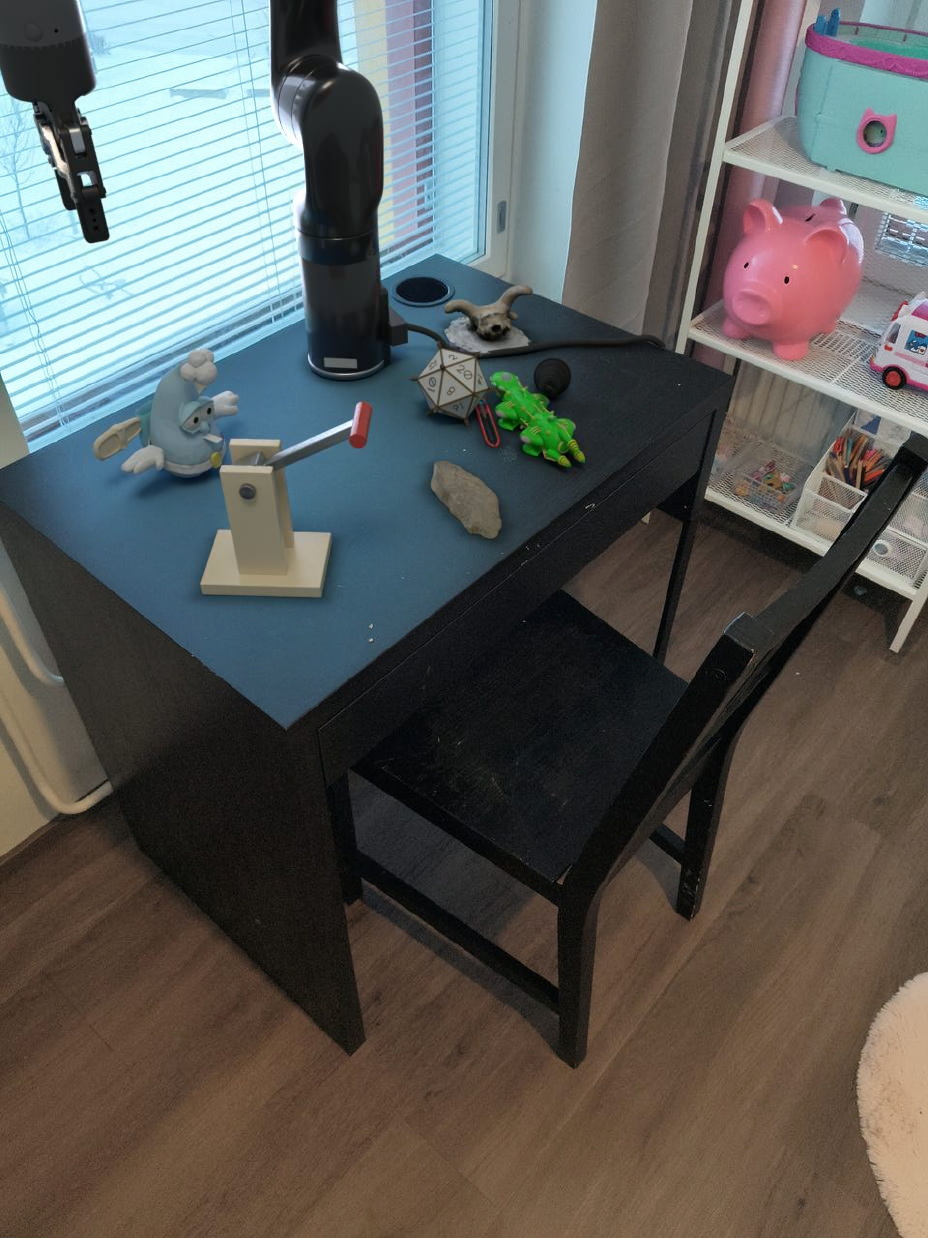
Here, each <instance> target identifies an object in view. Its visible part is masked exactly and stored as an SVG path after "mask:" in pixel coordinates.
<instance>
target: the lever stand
mask: <svg viewBox="0 0 928 1238" xmlns="http://www.w3.org/2000/svg"><path fill="white" fill-rule="evenodd" d="M282 447H283V446H282V441H281V439H256V438H230V440H229V444H228V448H229V454H230V459H231V460H230V461H231V465H230V464H229V465H227V464H223V465H222V464H221V465H220V469H219V477H220V483H221V487H222V492H223V497H224V498H223V499H224V503H225V508H226V513H227V518H228V524H229V529H218V530H217V532H216V534H215V537H214V541H213V544H212V547H211V550H210V552H209V556H208V559H207V562H206V564H205V568H204V572H203V575H202V578H201V581H200V590H201V594H202V595H211V596H212V595H214V596H246V597H247V596H251V597H279V598H280V597H283V598H285V597H286V598H322V596H323V591H324V585H325V581H326V575H327V570H328V566H329V561H330V554H331V549H332V544H333V539H332V533H331V532H328V531H327V532H324V531H323V532H319V531H294V527H293V520H292V514H291V513H292V512H291V505H290V504H291V503H290V498H289V490H288V483H287V476H286V469H285V468H286V467H284V468H282V469H280V470H277V471H276V472H275V475H274V470H273V467H271V466H234V463H235V461H237V460H239V459H241V458H243V457H245V456H248V455H250V454H252V453H254V452H256V451H259V450H261V451H262V452H263V453H264V455H265V456H266V457H267V458H268V457H270V456H272V455H275V454H277V453H279V452H281V451H283V448H282Z"/></svg>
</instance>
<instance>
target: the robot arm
mask: <svg viewBox="0 0 928 1238" xmlns="http://www.w3.org/2000/svg"><path fill="white" fill-rule="evenodd" d="M268 14H269V15H268V17H269V22H268V23H269V96H270V106H271V107H270V108H271V111H272V115H273V119H274V122H275V123H276V125H277V127H278V129H279V131H280V133H281V134H282V135H283V136H284V137H285V138H286V140H288V141H289V142H290V143H291V144H292V145H294V146H295V147H296V148H298V149H299V150H301V151H302V156H303V157H302V158H303V170H304V188H302V189H300V190H299V191H298V192H297V193H296V194H295V196H294V198H293V201H292V211H293V220H294V230H295V240H296V249H297V259H298V264H299V265H298V267H299V277H300V287H301V296H302V305H303V313H304V322H305V331H306V332H305V333H306V343H307V353H308V355H307V358H308V359H307V360H308V365H309V368H310V370H312V371H313V372H314V373H315V374H316V375H318V376H321V377H323V378H326V379H330V380H336V381H337V380H338V381H353V380H360V379H364V378H367V377H370V376H373V375H375V374H376V373H378V372H380V370H382V368H384V366H387V365H390V364H392V348H394V347H398V346H402V345H406V344H409V332H414V333H418V334H421V335H424V336H427V337H429V338H431V339H433V340H434V341H435V342H436V343H437V341H439V342H440V343H441V345H442V348H444V349H448V350H452V351H456V352H461V353H465V354H469V355H473V356H475V354H476V353H474V352H473V353H471V352H463V351H459V350H456V349H453V348H451V346H450V344H448V343H447V342H446V340H444V338H443V337H442V336H441V335H439V333H437V332H435V331H433V330H432V329H430V328H427V327H424V326H421V325H416V324H414V323H409V322H407V321H406V320H405V319H404V318H403V317H402V316H401V315H400V313H398V312H397V311H396V310H395V309H394V307H392V306H390V305H389V304H390V302H389V300H390V299H389V291H388V288H386V286H385V285H383V283H382V271H381V257H380V256H381V254H380V237H379V236H380V235H379V207H380V203H381V201H382V198H383V194H384V188H385V187H384V186H385V133H384V132H385V128H384V116H383V108H382V104H381V101H380V97H379V94H378V92H377V90H376V88H375V86H374V85H373V84H372V82H371V81H370V80H369V79H368V78H367V77H366V76H365V75H364V74H361V73H360V72H358V71H357V70H355V69H353V68H351V67H349V66H348V65H345V64H344V61H343V56H342V48H341V40H340V30H339V29H340V28H339V27H340V26H339V15H338V0H268ZM0 74H1V78H2V82H3V85H4V88H5V90H6V93H7V94H8V95H9V96H10V97H11V98H13V99H15V100H17V101H20V102H24V103H30V104H31V105H32V110H33V113H32V117H33V122H34V125H35V128H36V130H37V132H38V137H39V142H40V144H41V148H42V151H43V153H44V155H46V156H47V157H48V158H47V162H48V164H49V165H50V167H51V168H52V169H53V171H54V175H55V180H56V183H57V186H58V191H59V193H60V194H59V195H60V198H61V202H62V205H63V207H64V209H65V210H67V211H70V212H71V211H76V213H77V217H78V220H79V225H80V229H81V232H82V233H81V234H82V236H83V238H84V240H85V242H86V243H87V244H96V243H97V244H98V243H101V242H106V241H108V240H109V239H110V237H111V234H110V230H109V225H108V222H107V217H106V214H105V209H104V205H103V201H102V200H103V199H106V198H107V189H106V187H105V185H104V181H103V176H102V173H101V169H100V165H99V160H98V157H97V156H98V155H97V152H96V148H95V144H94V141H93V136H92V135H93V132H92V131H93V130H92V128H91V127H90V125H89V121H88V118H87V117H86V115H82V112H81V110H80V107H76V101H77V100H79V98H81V97H86V96H88V95H90V94H91V93H92V92H94V91H95V90H96V87H97V85H98V79H97V75H96V71H95V65H94V61H93V58H92V53H91V48H90V45H89V39H88V35H87V31H86V26H85V21H84V17H83V12H82V8H81V4H80V0H0ZM83 175H87V176H88V177H89V180H90V183H91V184H88V185H84V182H83V179H82V176H83ZM639 342H640V343H641V342H649V343H652V344H654V345H655V346H657V347H658V348H662V349H663V348H666V347H667V345H666V344H665V343H664V341H663V340H661V338H659V337H657V336H656V335H652V334H637V335H632V336H628V337H620V338H616V337H615V338H600V337H598V338H597V337H596V338H595V337H594V338H590V337H589V338H565V339H555V340H547V341H542V342H538V343H533V344H532V343H531V344H532V345H527V346H522V347H515V348H505V349H497V350H491V351H488V353H486V354H484V355H482V356H480V357H477V360H479V359H480V360H481V359H487V358H494V357H500V356H501V357H502V356H503V357H504V356H512V355H518V354H526V353H530V352H537V351H540V350H541V351H542V350H545V349H550V348H557V347H568V346H570V347H571V346H622V345H630V344H634V343H635V344H636V343H639Z"/></svg>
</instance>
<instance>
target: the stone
mask: <svg viewBox="0 0 928 1238" xmlns="http://www.w3.org/2000/svg"><path fill="white" fill-rule="evenodd" d="M430 489H431V490H432V492H434V494H435V495H436V497H437V499H438V500H439V501H440V502H441V503H442V504H444V505H445V507H447V508H448V510H449V512H450V514H451V515H452V516H454V517H455V518H456V519H457V520H459V522H460V523H461V524H462V525H463V528H464V529H466V531H467V533H469V534H474V535H480V536H481V537H483V538H485V539H489V540H494V539H495V538H497V537H498V535H499V532H500V530H501V529H502V519H501V517H500V511H499V503H500V501H499V499H498V497H497V495H496V493H495V492H494V491H492V490H491V488H489V487H488V486H487V485H486V483H485V482H484V481H483V480H481V479H480V478H479V477H477V476H475V475H473V474H472V473H470V472H468V471H466V470H464V469H463V468H462V467H461V466H459V465H456V464H455V463H451V462H450V461H448V460H441V461H440V460H438V461H435V462H434V464H433V475H432V478H431V480H430Z"/></svg>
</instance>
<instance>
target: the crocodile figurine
mask: <svg viewBox="0 0 928 1238" xmlns="http://www.w3.org/2000/svg"><path fill="white" fill-rule="evenodd" d="M489 381H490V384H491V385H490V386H492V387H494V388H495V389H496V390H495V392H496V394H495V395H496V396H498V400H499V401H502V402H500V403H499V404H498V405H496V407H495V408H494V413H495V414H496V416H497V417H499V420H498V422H497V425H498V426H499V428H501V429H504V430H507V431H514V429H515V428H516V427H518V426H519V425H520V426H519V428H520V429H521V430H522V431H521V432H520V434H519V439H520V440H521V441H522V442H523V443H524V444H523V445H522V451H523V452H524V453H525V454H527V455H529V456H533V457H539V455H540V454H541V453H543V454H542V455H543V457H544V458H545V459H546V460H550V461H553V462H557V463H558V465H559V466H562V467H567V468H568V467H570V468H571V467H572V465H571V462H570V461H569V459H568V458H567V457H566V456H565V454H566V453H567V452H568V453H569V454H570V455H572V456H573V458H574V460H576V461H578V462H580V463H586V461H585V460H586V458H585V455H584V452H583V451H581V450H580V448H579V445H578V443H577V441H576V439H574V438H573V435H574V432H575V430H576V429H577V427H576V424H575V423H574V422H573V421H572V420H571V419H569V418H565V417H564V418H558V416H557V415H554V413H555V411H554V410H551V411H549V410H547V409H548V405H549V404H550V400H549V397H547V396H545V395H543V394H542V393H530V391H528V389H529V387H528V386H527V385H526V386H525V387H523V385H522V383H521V381H520V379H519V377H518V376H517V375H515V374H514V373H511V372H509V371H496V372H495V373H494V374H492V375H490V376H489Z"/></svg>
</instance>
